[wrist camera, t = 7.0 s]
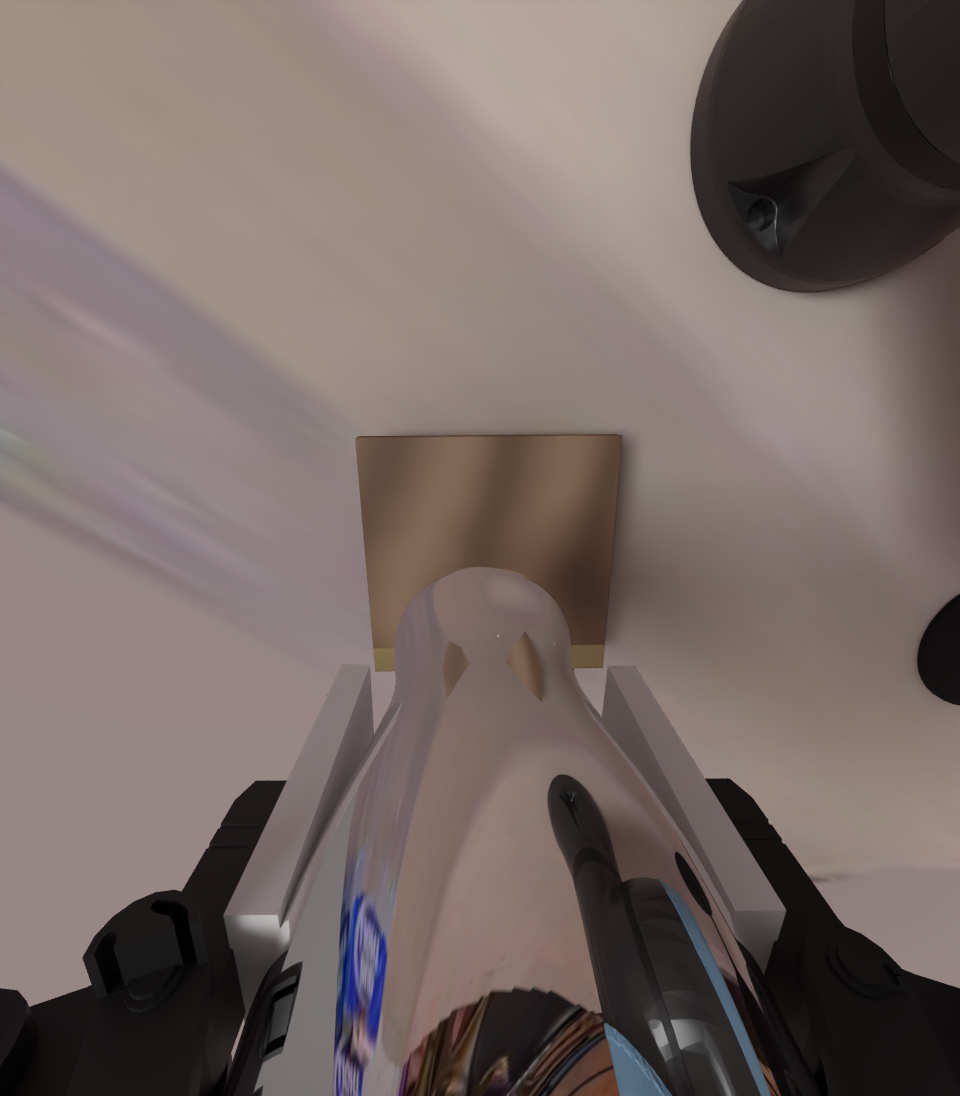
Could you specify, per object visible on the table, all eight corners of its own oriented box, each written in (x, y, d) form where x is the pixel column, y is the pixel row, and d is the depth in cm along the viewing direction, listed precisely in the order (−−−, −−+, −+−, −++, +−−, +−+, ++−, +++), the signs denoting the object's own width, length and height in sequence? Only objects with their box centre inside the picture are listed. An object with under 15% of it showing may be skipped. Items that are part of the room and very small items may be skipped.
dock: (601, 430, 29) (621, 435, 25) (587, 636, 33) (602, 667, 29) (370, 432, 28) (355, 437, 25) (386, 639, 33) (375, 671, 29)
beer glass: (577, 724, 18) (1039, 2088, 3) (391, 731, 18) (75, 2186, 3) (585, 548, 16) (1929, 2280, 1) (373, 555, 15) (-783, 2602, 1)
